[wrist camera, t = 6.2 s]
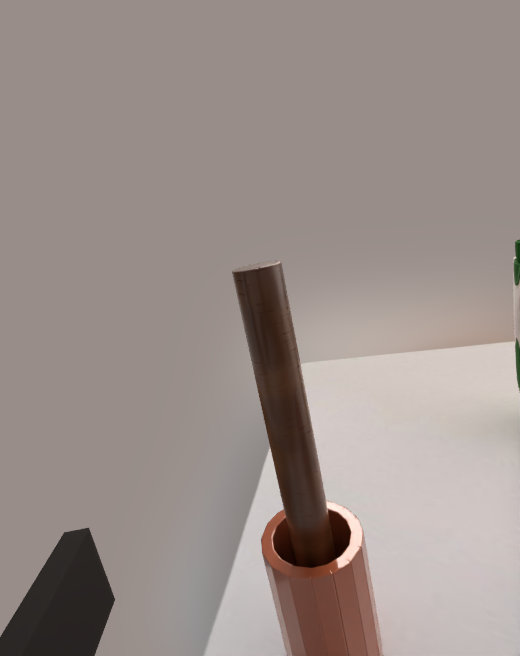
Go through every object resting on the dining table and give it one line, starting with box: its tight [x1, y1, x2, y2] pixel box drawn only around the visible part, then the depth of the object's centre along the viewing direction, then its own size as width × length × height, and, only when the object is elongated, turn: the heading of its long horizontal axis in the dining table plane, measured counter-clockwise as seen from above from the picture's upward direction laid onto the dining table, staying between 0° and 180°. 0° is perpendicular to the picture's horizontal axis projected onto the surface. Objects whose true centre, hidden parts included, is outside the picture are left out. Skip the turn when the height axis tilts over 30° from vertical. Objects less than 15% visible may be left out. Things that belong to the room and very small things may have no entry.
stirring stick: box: [232, 261, 337, 568], centre depth 22 cm, size 3×3×24 cm
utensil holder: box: [261, 501, 383, 656], centre depth 24 cm, size 6×6×9 cm
